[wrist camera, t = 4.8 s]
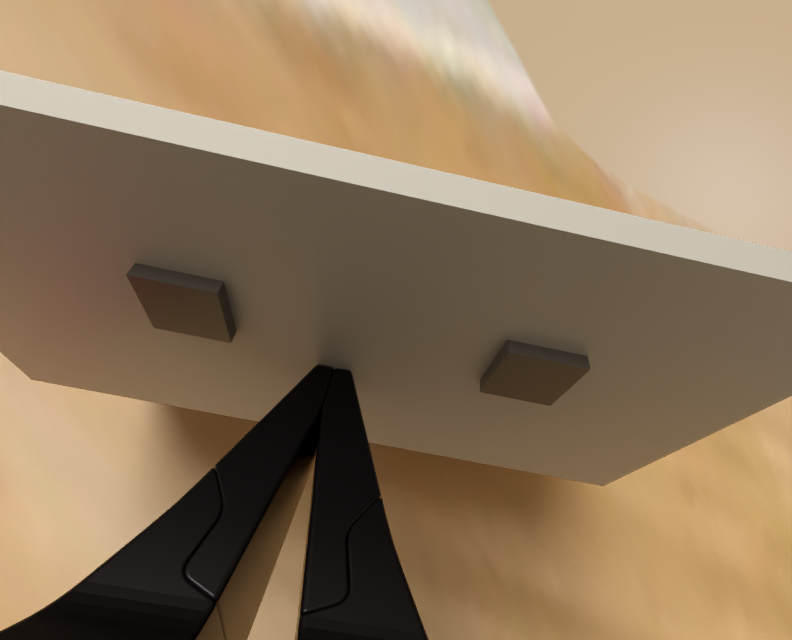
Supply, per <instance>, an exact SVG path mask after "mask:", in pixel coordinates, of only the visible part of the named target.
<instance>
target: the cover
mask: <svg viewBox="0 0 792 640" xmlns="http://www.w3.org/2000/svg"><path fill="white" fill-rule="evenodd" d="M0 352H1V353H2V354H3V355H4V356H6V357H7V358H8V359H9V360H10V361H11V362H12V363H13V364H15V365H16V366H17V367H18V368H19V369H20V370H21V371H22V372H24V373H25V374H26V375H27V376H28V377H29V378H30V379H31V380H37V381H42V382H47V383H53V384H58V385H63V386H69V387H74V388H80V389H85V390H90V391H96V392H101V393H106V394H112V395H117V396H122V397H128V398H133V399H139V400H144V401H149V402H155V403H160V404H165V405H171V406H176V407H181V408H187V409H192V410H198V411H203V412H208V413H214V414H219V415H224V416H230V417H235V418H241V419H246V420H251V421H257V422H259V421H260V420H261V419H262V418H263V417H264V416H265V415H266V414H267V413H268V412H269V411H270V410H271V409H272V408H273V407H274V406H275V405H276V404H277V403H278V402H279V401H280V400H281V399H282V398H283V397H284V396H285V395H286V394H288V393H289V392H290V391H291V390H292V389H293V388H294V387H295V386H296V385H297V384H298V383H299V382H300V381H301V380H302V379H303V378H304V377H305V376H306V375H307V374H308V373H309V372H310V371H311V370H312V369H313V368H314V367H315V366H316V365H325V366H330V367H333V369H336V368H340V369H345V370H350V371H351V372H352V374H353V378H354V383H355V387H356V391H357V395H358V400H359V404H360V408H361V412H362V417H363V421H364V425H365V429H366V434H367V438H368V442H369V443H375V444H380V445H385V446H391V447H396V448H402V449H407V450H412V451H418V452H423V453H428V454H434V455H439V456H444V457H450V458H455V459H461V460H466V461H471V462H477V463H482V464H487V465H493V466H498V467H503V468H509V469H514V470H520V471H525V472H530V473H536V474H541V475H546V476H552V477H557V478H563V479H568V480H573V481H579V482H584V483H589V484H595V485H600V486H604V485H606V484H608V483H610V482H613V481H615V480H617V479H619V478H621V477H623V476H625V475H627V474H629V473H631V472H633V471H635V470H638V469H640V468H642V467H644V466H646V465H648V464H650V463H652V462H654V461H656V460H658V459H661V458H663V457H665V456H667V455H669V454H671V453H673V452H675V451H677V450H679V449H681V448H684V447H686V446H688V445H690V444H692V443H694V442H696V441H698V440H700V439H702V438H704V437H706V436H709V435H711V434H713V433H715V432H717V431H719V430H721V429H723V428H725V427H727V426H729V425H732V424H734V423H736V422H738V421H740V420H742V419H744V418H746V417H748V416H750V415H752V414H754V413H757V412H759V411H761V410H763V409H765V408H767V407H769V406H771V405H773V404H775V403H777V402H780V401H782V400H784V399H786V398H788V397H790V396H792V251H788V250H783V249H779V248H774V247H770V246H766V245H761V244H757V243H753V242H748V241H744V240H740V239H734V238H730V237H726V236H722V235H718V234H713V233H709V232H705V231H700V230H696V229H691V228H687V227H683V226H678V225H674V224H670V223H665V222H661V221H657V220H652V219H648V218H643V217H639V216H635V215H630V214H626V213H622V212H617V211H613V210H608V209H604V208H600V207H595V206H591V205H587V204H582V203H578V202H574V201H569V200H565V199H560V198H556V197H552V196H547V195H543V194H539V193H534V192H530V191H525V190H521V189H517V188H512V187H508V186H504V185H499V184H495V183H490V182H486V181H482V180H477V179H473V178H469V177H464V176H460V175H456V174H451V173H447V172H442V171H438V170H434V169H429V168H425V167H421V166H416V165H412V164H407V163H403V162H399V161H394V160H390V159H386V158H381V157H377V156H373V155H368V154H364V153H359V152H355V151H351V150H346V149H342V148H338V147H333V146H329V145H324V144H320V143H316V142H311V141H307V140H303V139H298V138H294V137H290V136H285V135H281V134H276V133H272V132H268V131H263V130H259V129H255V128H250V127H246V126H241V125H237V124H233V123H228V122H224V121H220V120H215V119H211V118H207V117H202V116H198V115H193V114H189V113H185V112H180V111H176V110H172V109H167V108H163V107H158V106H154V105H150V104H145V103H141V102H137V101H132V100H128V99H123V98H119V97H115V96H110V95H106V94H102V93H97V92H93V91H89V90H84V89H80V88H75V87H71V86H67V85H62V84H58V83H54V82H49V81H45V80H40V79H36V78H32V77H27V76H23V75H19V74H14V73H10V72H6V71H1V70H0Z"/></svg>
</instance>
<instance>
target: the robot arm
mask: <svg viewBox="0 0 792 640" xmlns="http://www.w3.org/2000/svg"><path fill="white" fill-rule="evenodd" d="M315 456H316V460H315V468H314V477H313V485H312V494H311V503H310V512H309V521H308V529H307V538H306V547H305V556H304V565H303V573H302V582H301V591H300V600H299V609H298V618H297V626H296V635H295V640H429V639H428V637H427V634H426V632H425V629H424V626H423V624H422V621H421V618H420V616H419V613H418V610H417V607H416V605H415V602H414V599H413V597H412V594H411V591H410V589H409V586H408V583H407V580H406V578H405V575H404V572H403V570H402V567H401V564H400V561H399V558H398V555H397V552H396V549H395V546H394V543H393V540H392V536H391V532H390V529H389V525H388V521H387V518H386V514H385V509H384V505H383V501H382V498H380V497H381V493H380V489H379V485H378V481H377V476H376V472H375V468H374V463H373V459H372V455H371V451H370V446H369V442H368V438H367V434H366V429H365V425H364V421H363V417H362V412H361V408H360V404H359V400H358V395H357V391H356V387H355V383H354V378H353V374H352V372H351V371H350V370H345V369H340V368H336V369H333V367H330V366H325V365H316V366H315V367H314V368H313V369H312V370H311V371H310V372H309V373H308V374H307V375H306V376H305V377H304V378H303V379H302V380H301V381H300V382H299V383H298V384H297V385H296V386H295V387H294V388H293V389H292V390H291V391H290V392H289V393H288V394H286V395H285V396H284V397H283V398H282V399H281V400H280V401H279V402H278V403H277V404H276V405H275V406H274V407H273V408H272V409H271V410H270V411H269V412H268V413H267V414H266V415H265V416H264V417H263V418H262V419H261V420H260V421H259V422H258V423H257V424H256V425H255V426H254V427H253V428H252V429H251V430H250V431H249V432H248V433H247V434H246V435H245V436H244V437H243V438H242V439H241V440H240V441H239V442H238V443H237V444H236V445H235V446H234V447H233V448H232V449H231V450H230V451H229V452H228V453H227V454H226V455H225V456H224V457H223V458H222V459H221V460H220V461H219V462H218V463H217V464H216V465H215V469H214V468H212V469H211V470H210V471H209V472H208V473H207V474H206V475H205V476H204V477H203V478H202V479H201V480H200V481H199V482H198V483H197V484H196V485H194V486H193V487H192V488H191V489H190V490H189V491H188V492H187V493H186V494H185V495H184V496H183V497H182V498H181V499H180V500H179V501H177V502H176V503H175V504H174V505H173V506H172V507H171V508H169V509H168V510H167V511H166V512H165V513H164V514H162V515H161V516H160V517H159V518H158V519H157V520H155V521H154V522H153V523H152V524H151V525H149V526H148V527H147V528H146V529H145V530H143V531H142V532H141V533H140V534H138V535H137V536H136V537H135V538H134V539H132V540H131V541H130V542H129V543H127V544H126V545H125V546H124V547H122V548H121V549H120V550H119V551H118V552H116V553H115V554H114V555H113V556H111V557H110V558H109V559H108V560H107V561H105V562H104V563H103V564H102V565H100V566H99V567H98V568H97V569H95V570H94V571H93V572H92V573H91V574H89V575H88V576H87V577H86V578H84V579H83V580H82V581H81V582H79V583H78V584H77V585H76V586H74V587H73V588H72V589H71V590H69V591H68V592H66V593H65V594H64V595H62V596H61V597H60V598H58V599H57V600H55V601H54V602H52V603H51V604H49V605H47V606H46V607H44V608H43V609H41V610H39V611H38V612H36V613H34V614H33V615H31V616H29V617H27V618H25V619H23V620H22V621H20V622H18V623H16V624H14V625H12V626H10V627H8V628H6V629H4V630H2V631H0V640H247V638H248V636H249V633H250V630H251V628H252V625H253V622H254V620H255V617H256V614H257V612H258V609H259V606H260V604H261V601H262V598H263V596H264V593H265V590H266V588H267V585H268V582H269V580H270V577H271V574H272V572H273V569H274V566H275V564H276V561H277V558H278V556H279V553H280V550H281V548H282V545H283V542H284V540H285V537H286V534H287V532H288V529H289V526H290V524H291V521H292V518H293V516H294V513H295V510H296V508H297V505H298V502H299V500H300V497H301V494H302V492H303V489H304V486H305V484H306V481H307V478H308V476H309V473H310V470H311V468H312V465H313V462H314V459H315Z"/></svg>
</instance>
